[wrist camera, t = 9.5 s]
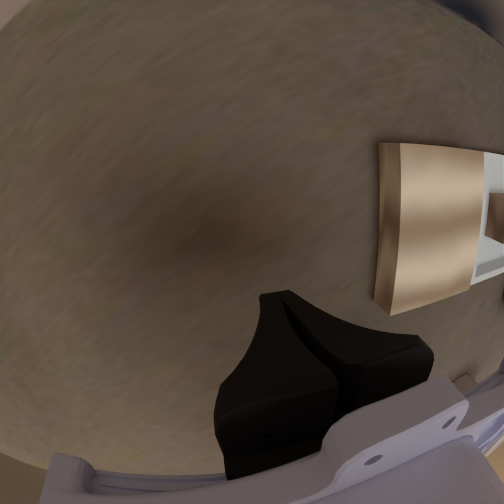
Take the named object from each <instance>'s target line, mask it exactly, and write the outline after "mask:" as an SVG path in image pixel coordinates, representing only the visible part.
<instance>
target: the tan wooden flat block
mask: <svg viewBox="0 0 504 504" xmlns="http://www.w3.org/2000/svg"><path fill="white" fill-rule="evenodd" d="M378 152H379V181H380V212H379V241H378V258H377V271H376V282H375V292H374V301H375V302H376V303H377V304H378V305H379V306H380V307H381V308H382V309H383V310H384V311H385V312H386V313H387V314H388V315H389V316H392V315H395V314H398V313H402V312H405V311H408V310H412V309H415V308H418V307H421V306H424V305H427V304H430V303H433V302H436V301H439V300H442V299H445V298H447V297H450V296H453V295H456V294H458V293H461V292H464V291H466V290H469V288H470V283H471V279H472V274H473V269H474V264H475V259H476V253H477V247H478V240H479V233H480V225H481V216H482V204H483V188H484V152H482V151H476V150H469V149H461V148H453V147H444V146H434V145H422V144H408V143H378Z"/></svg>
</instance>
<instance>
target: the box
mask: <svg viewBox="0 0 504 504" xmlns="http://www.w3.org/2000/svg"><path fill="white" fill-rule="evenodd" d="M489 193H504V155H500V154H494V153H488V152H484V188H483V204H482V216H481V225H480V233H479V240H478V247H477V253H476V259H475V264H474V269H473V274H472V279H471V283H470V285H472V284H475V283H478V282H480V281H483V280H485V279H488V278H490V277H493V276H495V275H498V274H500V273H503V272H504V244H502V243H500V242H497V241H495V240H493V239H491V238H489V237H487V236H485V230H486V223H487V214H488V205H489Z"/></svg>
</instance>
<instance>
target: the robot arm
mask: <svg viewBox="0 0 504 504" xmlns="http://www.w3.org/2000/svg"><path fill="white" fill-rule="evenodd" d="M259 301H260V317H259V322H258V325H257V329H256V332H255V335H254V338H253V340H252V342H251V344H250V346H249V348H248V350H247V352H246V354H245V356H244V357H243V359H242V360H241V361H240V363H239V364H238V366H237V367H236V368H235V370H234V371H233V372H232V373H231V374H230V375H229V376H228V377H227V378H226V379H225V381H224V382H223V383H222V384H221V385H220V388H219V392H218V395H217V399H216V403H215V409H214V427H215V435H216V438H217V441H218V443H219V446H220V448H221V451H222V453H223V456H224V465H225V473H218V474H203V475H142V474H128V473H118V472H109V471H101V470H95V469H94V468H93V467H92V466H91V465H90V464H89V463H88V462H87V461H86V460H84V459H82V458H79V457H76V456H71V455H65V454H60V453H53V455H52V459H51V462H50V465H49V468H48V472H47V475H46V479H45V483H44V486H43V490H42V494H41V499H40V503H39V504H504V484H503V482H502V480H501V479H500V478H499V476H498V475H497V473H496V472H495V470H494V469H493V467H492V466H491V465H490V463H489V462H488V460H487V459H486V458H485V456H484V455H483V453H482V452H483V451H485V450H486V449H487V448H488V447H489V446H490V445H491V444H492V443H494V442H495V441H496V440H497V439H498V438H499V437H500V436H501V435H502V434H503V433H504V359H503V360H502V362H501V364H500V367H499V369H498V370H497V371H495V372H494V373H493V374H491V375H490V376H488V377H487V378H486V379H484V380H483V381H481V382H480V383H478V384H477V385H475V386H474V387H472V388H471V389H469V390H468V391H466V392H464V393H463V394H462V393H461V392H460V391H459V390H458V389H457V387H456V386H455V385H454V384H453V383H452V382H451V381H450V380H449V379H448V378H447V377H446V376H440V377H436V378H432V379H429V380H427V379H428V377H429V374H430V372H431V369H432V366H433V362H434V353H433V352H432V350H431V348H430V347H429V346H428V345H427V344H426V343H425V342H424V341H423V340H422V339H421V338H420V337H419V336H418V335H410V334H395V333H388V332H382V331H377V330H372V329H368V328H364V327H361V326H357V325H354V324H351V323H349V322H346V321H343V320H341V319H338V318H336V317H334V316H332V315H330V314H328V313H326V312H324V311H322V310H320V309H319V308H317V307H315V306H313V305H312V304H310V303H309V302H307V301H305V300H304V299H302V298H301V297H299V296H298V295H296V294H295V293H293V292H292V291H290V290H285V291H279V292H273V293H266V294H261V295H260V297H259Z"/></svg>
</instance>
